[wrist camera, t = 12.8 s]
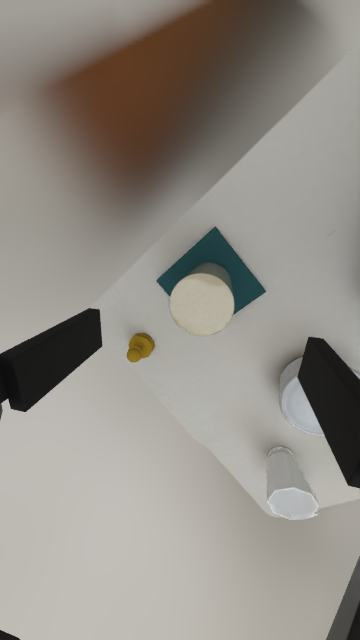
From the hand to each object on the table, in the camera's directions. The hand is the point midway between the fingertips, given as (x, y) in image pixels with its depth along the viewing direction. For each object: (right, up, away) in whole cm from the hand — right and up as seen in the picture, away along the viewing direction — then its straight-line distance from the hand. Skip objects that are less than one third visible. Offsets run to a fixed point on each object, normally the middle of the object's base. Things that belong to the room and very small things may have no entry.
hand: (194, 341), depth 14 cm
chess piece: (-7, -3, +24) cm, 25 cm away
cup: (+18, -24, +26) cm, 40 cm away
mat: (+3, +6, +18) cm, 20 cm away
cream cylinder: (+3, +6, +18) cm, 19 cm away
